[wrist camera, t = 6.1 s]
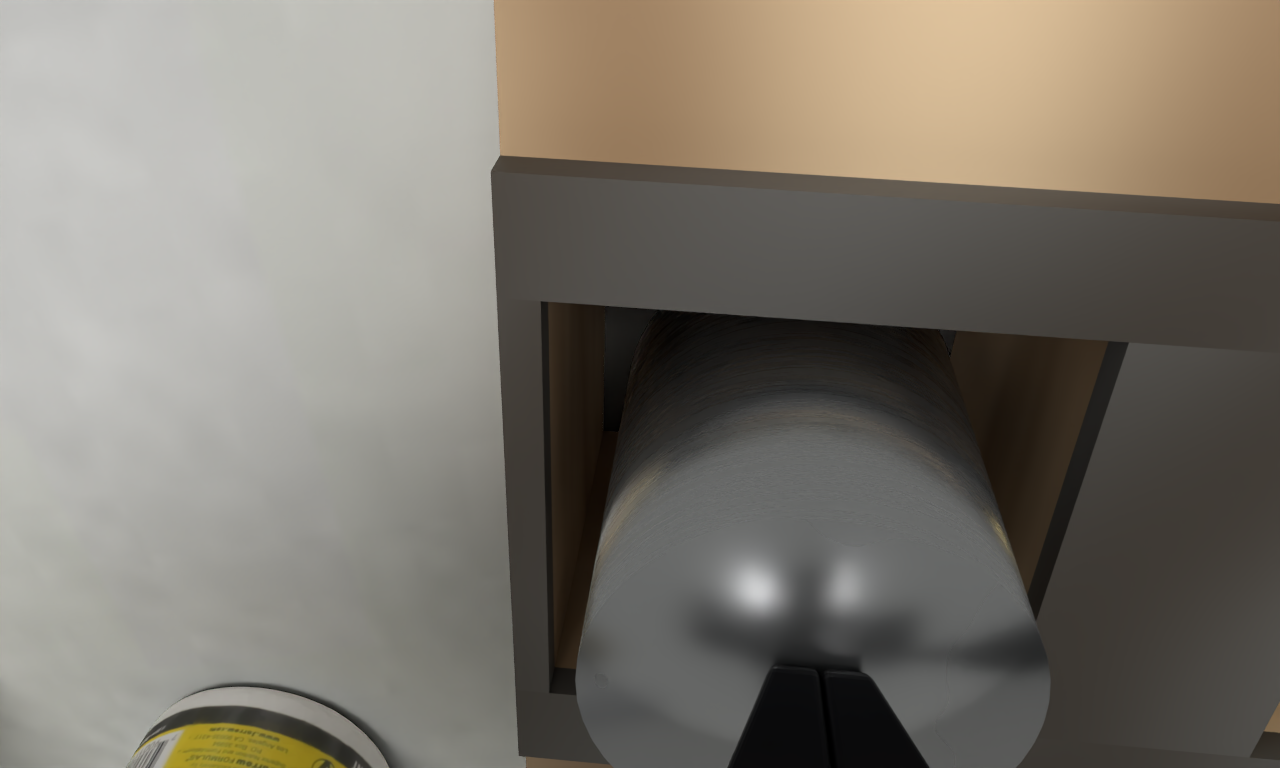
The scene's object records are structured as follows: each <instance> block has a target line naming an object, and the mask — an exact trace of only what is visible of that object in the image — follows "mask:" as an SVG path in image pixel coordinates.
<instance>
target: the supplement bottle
mask: <svg viewBox="0 0 1280 768" xmlns="http://www.w3.org/2000/svg"><path fill="white" fill-rule="evenodd" d="M126 768H389V766H388V764H387V762H386V760H385V758H384V757H383V755H382V754H381V752H380V751H379V749H378V748H377V747H376V746H375V744H374V743H373V742H372V741H371V740H370V739H369V738H368V736H367V735H366V734H365V733H364V732H362V731H361V730H360V729H359V728H358V727H357V726H355V725H354V724H353V723H352V722H351V721H349V720H348V719H346V718H345V717H343V716H342V715H340V714H339V713H337V712H336V711H334V710H332V709H330V708H328V707H326V706H324V705H322V704H320V703H317V702H315V701H312V700H310V699H307V698H305V697H301V696H298V695H294V694H291V693H287V692H282V691H278V690H272V689H265V688H256V687H226V688H217V689H210V690H206V691H202V692H199V693H196V694H193V695H190V696H188V697H186V698H184V699H182V700H180V701H178V702H177V703H175V704H174V705H172V706H171V707H170V708H168V709H167V710H166V711H165V712H164V713H163V714H162V715H161V716H160V717H159V718H158V719H157V720H156V722H155V723H154V724H153V725H152V727H151V728H150V730H149V732H148V733H147V735H146V736H145V738H144V739H143V741H142V742H141V744H140V746H139V747H138V749H137V750H136V752H135V754H134V755H133V757H132V759H131V760H130V762H129V764H128V765H127V767H126Z"/></svg>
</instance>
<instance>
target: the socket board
mask: <svg viewBox="0 0 1280 768" xmlns="http://www.w3.org/2000/svg"><path fill="white" fill-rule="evenodd" d="M494 16H495V39H496V63H497V87H498V110H499V134H500V157H499V159H498V160H497V162H496V164H495V165H494V167H493V169H492V171H491V186H492V207H493V228H494V248H495V269H496V290H497V311H498V332H499V352H500V373H501V394H502V415H503V436H504V457H505V477H506V498H507V519H508V540H509V561H510V582H511V602H512V623H513V644H514V665H515V686H516V706H517V727H518V748H519V756H524V757H526V768H613V767H612V766H611V764H610V763H609V762H608V761H607V760H606V759H605V758H604V757H603V755H602V754H601V752H600V751H599V749H598V748H597V746H596V745H595V743H594V742H593V741H592V739H591V737H590V735H589V733H588V730H587V728H586V726H585V724H584V722H583V719H582V716H581V712H580V709H579V705H578V702H577V694H576V683H575V677H576V667H577V658H578V652H579V647H580V641H581V636H582V630H583V625H584V619H585V614H586V608H587V603H588V598H589V592H590V587H591V581H592V576H593V570H594V565H595V559H596V554H597V548H598V543H599V537H600V532H601V527H602V521H603V516H604V510H605V505H606V499H607V494H608V488H609V483H610V477H611V472H612V466H613V461H614V456H615V450H616V445H617V439H618V434H619V432H612V431H603V418H604V356H605V306H616V307H631V308H645V309H659V310H673V311H687V312H702V313H716V314H730V315H744V316H759V317H773V318H787V319H801V320H815V321H830V322H844V323H858V324H872V325H887V326H901V327H915V328H929V329H943V330H957V331H956V335H955V339H954V344H953V348H952V353H951V357H950V361H951V364H952V367H953V370H954V373H955V376H956V379H957V382H958V385H959V388H960V391H961V394H962V397H963V400H964V403H965V407H966V410H967V413H968V416H969V419H970V422H971V425H972V428H973V431H974V434H975V437H976V440H977V443H978V446H979V449H980V452H981V456H982V459H983V462H984V465H985V468H986V471H987V474H988V477H989V480H990V483H991V486H992V489H993V492H994V495H995V498H996V501H997V504H998V508H999V511H1000V514H1001V517H1002V520H1003V523H1004V526H1005V529H1006V532H1007V535H1008V538H1009V541H1010V544H1011V547H1012V550H1013V553H1014V557H1015V560H1016V563H1017V566H1018V569H1019V572H1020V575H1021V578H1022V581H1023V584H1024V587H1025V590H1026V593H1027V596H1028V599H1029V602H1030V605H1031V609H1032V612H1033V615H1034V618H1035V621H1036V624H1037V627H1038V630H1039V633H1040V636H1041V639H1042V642H1043V645H1044V648H1045V651H1046V654H1047V657H1048V664H1049V671H1050V678H1051V684H1050V700H1049V705H1048V709H1047V713H1046V717H1045V720H1044V724H1043V726H1042V728H1041V730H1040V732H1039V734H1038V736H1037V739H1036V741H1035V743H1034V744H1033V746H1032V747H1031V749H1030V750H1029V751H1028V753H1027V754H1026V756H1025V757H1024V759H1023V760H1022V762H1021V763H1020V764H1019V765H1018V766H1017V767H1016V768H1280V0H494Z"/></svg>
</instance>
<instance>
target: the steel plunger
mask: <svg viewBox="0 0 1280 768" xmlns="http://www.w3.org/2000/svg"><path fill="white" fill-rule="evenodd" d="M775 665H786V666H797V667H809V668H813V669H815V670H816V671H817V672H818V674H819V675H820V674H821V672H823V671H824V670H828V669H831V670H842V671H854V672H862V673H866V674H867V675H869V676H870V677H871V678H872V679H873V680H874V681H875V683H876V684H877V686H878V688H879V689H880V691H881V692H882V694H883V695H884V697H885V699H886V700H887V702H888V703H889V705H890V706H891V708H892V709H893V711H894V713H895V714H896V716H897V717H898V719H899V720H900V722H901V724H902V725H903V727H904V728H905V730H906V731H907V733H908V734H909V736H910V738H911V739H912V741H913V742H914V744H915V745H916V747H917V749H918V750H919V752H920V753H921V755H922V756H923V758H924V759H925V761H926V763H927V764H928V766H929V767H930V768H1016V767H1017V766H1018V765H1019V764H1020V763H1021V762H1022V760H1023V759H1024V757H1025V756H1026V754H1027V753H1028V751H1029V750H1030V749H1031V747H1032V746H1033V744H1034V743H1035V741H1036V739H1037V736H1038V734H1039V732H1040V730H1041V728H1042V726H1043V724H1044V720H1045V717H1046V713H1047V709H1048V705H1049V700H1050V684H1051V678H1050V671H1049V664H1048V657H1047V654H1046V651H1045V648H1044V645H1043V642H1042V639H1041V636H1040V633H1039V630H1038V627H1037V624H1036V621H1035V618H1034V615H1033V612H1032V609H1031V605H1030V602H1029V599H1028V596H1027V593H1026V590H1025V587H1024V584H1023V581H1022V578H1021V575H1020V572H1019V569H1018V566H1017V563H1016V560H1015V557H1014V553H1013V550H1012V547H1011V544H1010V541H1009V538H1008V535H1007V532H1006V529H1005V526H1004V523H1003V520H1002V517H1001V514H1000V511H999V508H998V504H997V501H996V498H995V495H994V492H993V489H992V486H991V483H990V480H989V477H988V474H987V471H986V468H985V465H984V462H983V459H982V456H981V452H980V449H979V446H978V443H977V440H976V437H975V434H974V431H973V428H972V425H971V422H970V419H969V416H968V413H967V410H966V407H965V403H964V400H963V397H962V394H961V391H960V388H959V385H958V382H957V379H956V376H955V373H954V370H953V367H952V364H951V361H950V358H949V355H948V352H947V349H946V346H945V343H944V340H943V337H942V335H941V334H940V332H939V330H938V329H929V328H915V327H901V326H887V325H872V324H858V323H844V322H830V321H815V320H801V319H787V318H773V317H759V316H744V315H730V314H716V313H702V312H687V311H673V310H659V311H658V312H657V313H656V314H655V315H654V317H653V318H652V320H651V321H650V323H649V324H648V326H647V327H646V329H645V331H644V332H643V334H642V336H641V339H640V341H639V343H638V345H637V348H636V350H635V353H634V357H633V361H632V364H631V368H630V374H629V379H628V385H627V390H626V395H625V401H624V406H623V412H622V417H621V423H620V428H619V434H618V439H617V445H616V450H615V456H614V461H613V466H612V472H611V477H610V483H609V488H608V494H607V499H606V505H605V510H604V516H603V521H602V527H601V532H600V537H599V543H598V548H597V554H596V559H595V565H594V570H593V576H592V581H591V587H590V592H589V598H588V603H587V608H586V614H585V619H584V625H583V630H582V636H581V641H580V647H579V652H578V658H577V667H576V677H575V683H576V694H577V702H578V705H579V709H580V712H581V716H582V719H583V722H584V724H585V726H586V728H587V730H588V733H589V735H590V737H591V739H592V741H593V742H594V743H595V745H596V746H597V748H598V749H599V751H600V752H601V754H602V755H603V757H604V758H605V759H606V760H607V761H608V762H609V763H610V764H611V766H612V767H613V768H727V767H728V765H729V763H730V760H731V758H732V755H733V753H734V751H735V748H736V746H737V744H738V741H739V739H740V737H741V734H742V732H743V730H744V727H745V725H746V723H747V720H748V718H749V715H750V713H751V711H752V708H753V706H754V704H755V701H756V699H757V697H758V694H759V692H760V690H761V687H762V685H763V682H764V680H765V678H766V675H767V673H768V671H769V669H770V668H771V667H772V666H775Z"/></svg>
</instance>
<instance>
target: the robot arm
mask: <svg viewBox="0 0 1280 768" xmlns="http://www.w3.org/2000/svg"><path fill="white" fill-rule="evenodd" d="M727 768H930V767H929V766H928V764H927V763H926V761H925V759H924V758H923V756H922V755H921V753H920V752H919V750H918V749H917V747H916V745H915V744H914V742H913V741H912V739H911V738H910V736H909V734H908V733H907V731H906V730H905V728H904V727H903V725H902V724H901V722H900V720H899V719H898V717H897V716H896V714H895V713H894V711H893V709H892V708H891V706H890V705H889V703H888V702H887V700H886V699H885V697H884V695H883V694H882V692H881V691H880V689H879V688H878V686H877V684H876V683H875V681H874V680H873V679H872V678H871V677H870V676H869V675H867V674H866V673H862V672H854V671H842V670H831V669H828V670H824V671H823V672H821V674H820V675H819V674H818V672H817V671H816V670H815V669H813V668H809V667H797V666H786V665H775V666H772V667H771V668H770V669H769V671H768V673H767V675H766V678H765V680H764V682H763V685H762V687H761V690H760V692H759V694H758V697H757V699H756V701H755V704H754V706H753V708H752V711H751V713H750V715H749V718H748V720H747V723H746V725H745V727H744V730H743V732H742V734H741V737H740V739H739V741H738V744H737V746H736V748H735V751H734V753H733V755H732V758H731V760H730V763H729V765H728V767H727Z"/></svg>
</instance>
